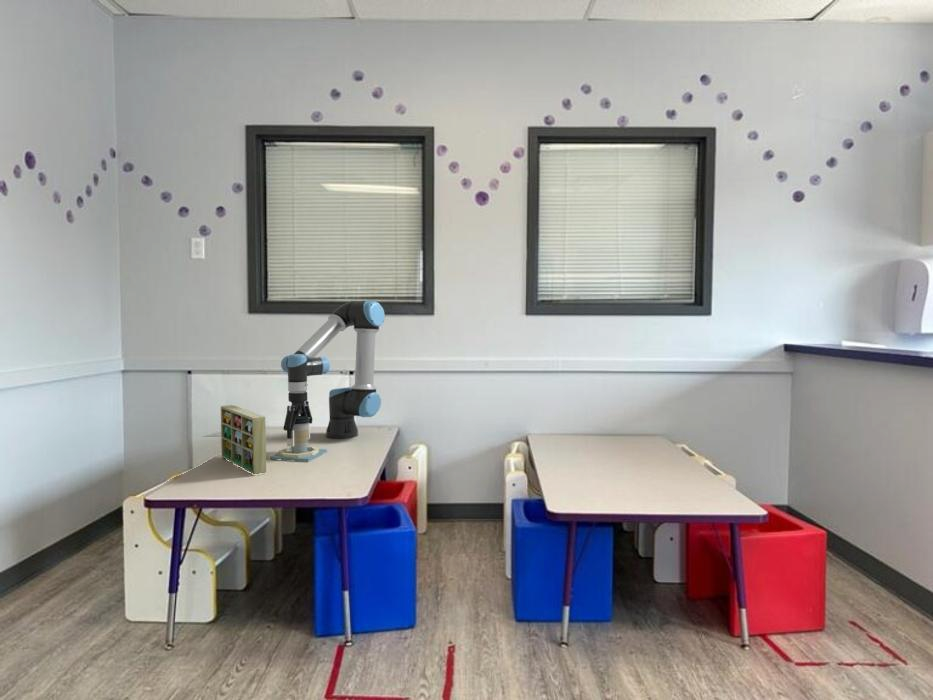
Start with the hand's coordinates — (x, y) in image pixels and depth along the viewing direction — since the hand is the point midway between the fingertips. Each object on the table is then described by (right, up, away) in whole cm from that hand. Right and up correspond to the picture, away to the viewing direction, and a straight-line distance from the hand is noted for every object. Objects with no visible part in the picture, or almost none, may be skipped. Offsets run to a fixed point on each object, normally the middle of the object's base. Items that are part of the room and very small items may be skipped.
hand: (299, 442), depth 246 cm
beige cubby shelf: (-18, -7, -15) cm, 24 cm away
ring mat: (0, -6, 0) cm, 6 cm away
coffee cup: (0, -5, 0) cm, 4 cm away
